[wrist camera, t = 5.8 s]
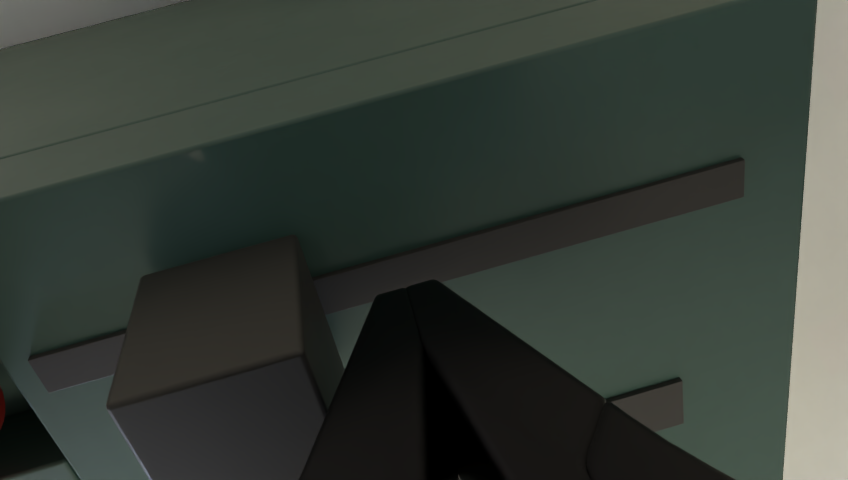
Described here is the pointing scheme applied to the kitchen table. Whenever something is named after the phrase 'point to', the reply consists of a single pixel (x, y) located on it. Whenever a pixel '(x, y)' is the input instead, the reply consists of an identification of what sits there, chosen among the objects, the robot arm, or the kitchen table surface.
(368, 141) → the toaster
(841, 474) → the kitchen table surface
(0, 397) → the button
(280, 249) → the slider
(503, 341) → the robot arm
